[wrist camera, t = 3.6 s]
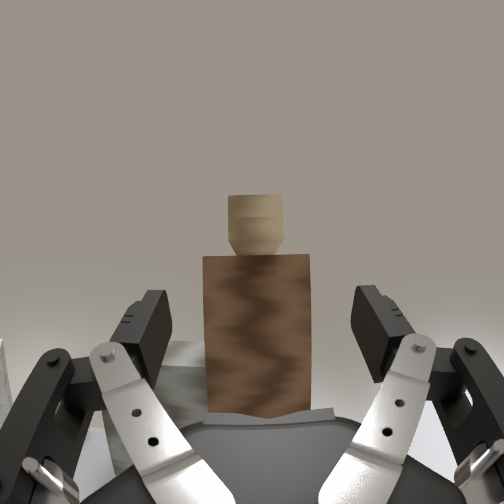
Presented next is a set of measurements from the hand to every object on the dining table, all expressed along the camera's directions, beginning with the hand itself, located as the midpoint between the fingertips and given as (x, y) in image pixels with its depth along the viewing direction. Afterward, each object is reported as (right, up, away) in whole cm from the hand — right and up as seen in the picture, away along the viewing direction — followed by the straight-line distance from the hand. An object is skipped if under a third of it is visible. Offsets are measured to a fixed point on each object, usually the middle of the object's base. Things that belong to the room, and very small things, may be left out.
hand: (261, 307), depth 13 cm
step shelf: (-5, -30, +19) cm, 36 cm away
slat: (0, +2, +19) cm, 19 cm away
